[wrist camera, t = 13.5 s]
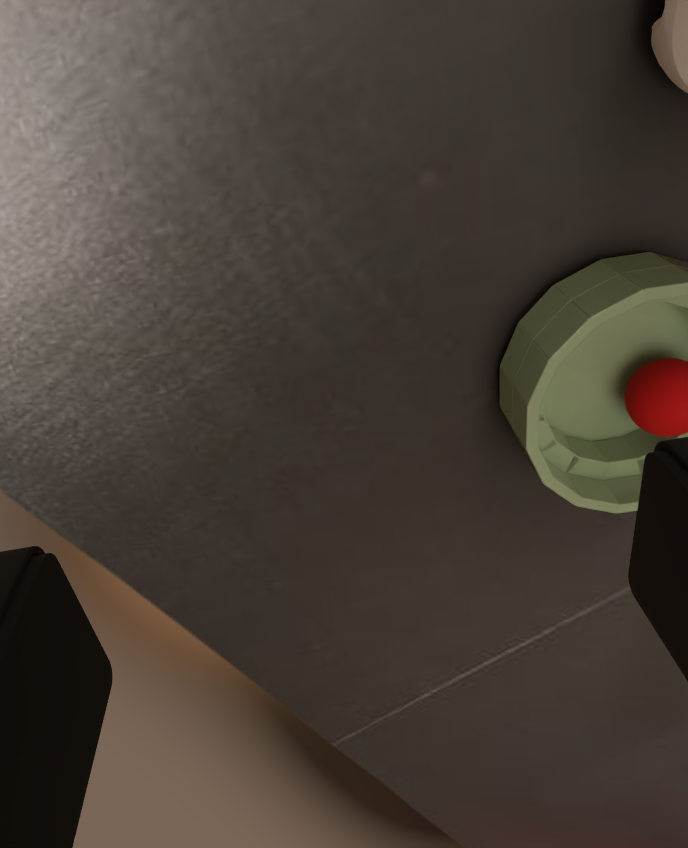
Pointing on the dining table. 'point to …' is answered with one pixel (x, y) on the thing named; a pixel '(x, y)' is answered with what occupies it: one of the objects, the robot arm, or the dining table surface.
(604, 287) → the bowl
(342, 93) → the dining table surface
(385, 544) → the dining table surface
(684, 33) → the water bottle
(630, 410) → the cherry tomato
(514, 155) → the dining table surface
